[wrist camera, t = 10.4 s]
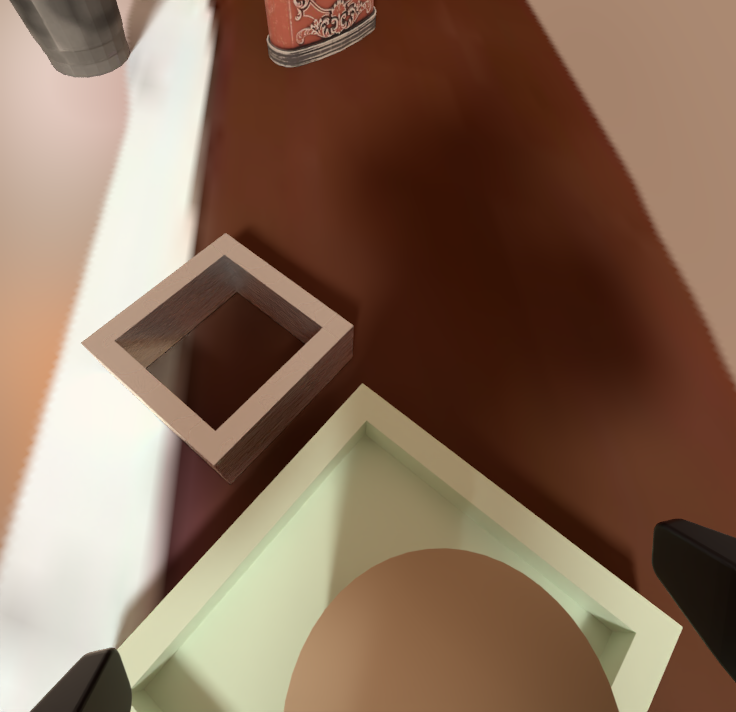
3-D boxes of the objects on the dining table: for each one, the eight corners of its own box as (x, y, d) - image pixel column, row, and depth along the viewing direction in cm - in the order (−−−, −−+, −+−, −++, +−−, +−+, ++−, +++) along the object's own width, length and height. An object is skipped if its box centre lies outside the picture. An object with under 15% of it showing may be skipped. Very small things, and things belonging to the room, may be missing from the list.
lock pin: (400, 783, 13) (513, 1132, 4) (292, 672, 14) (203, 766, 5) (479, 649, 15) (684, 702, 6) (377, 558, 16) (418, 487, 7)
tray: (430, 1095, 11) (446, 1187, 9) (101, 692, 14) (67, 703, 12) (645, 625, 16) (682, 626, 14) (360, 404, 19) (362, 383, 17)
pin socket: (230, 484, 17) (213, 465, 15) (111, 374, 19) (80, 343, 17) (352, 357, 20) (353, 325, 18) (237, 271, 22) (225, 233, 20)
